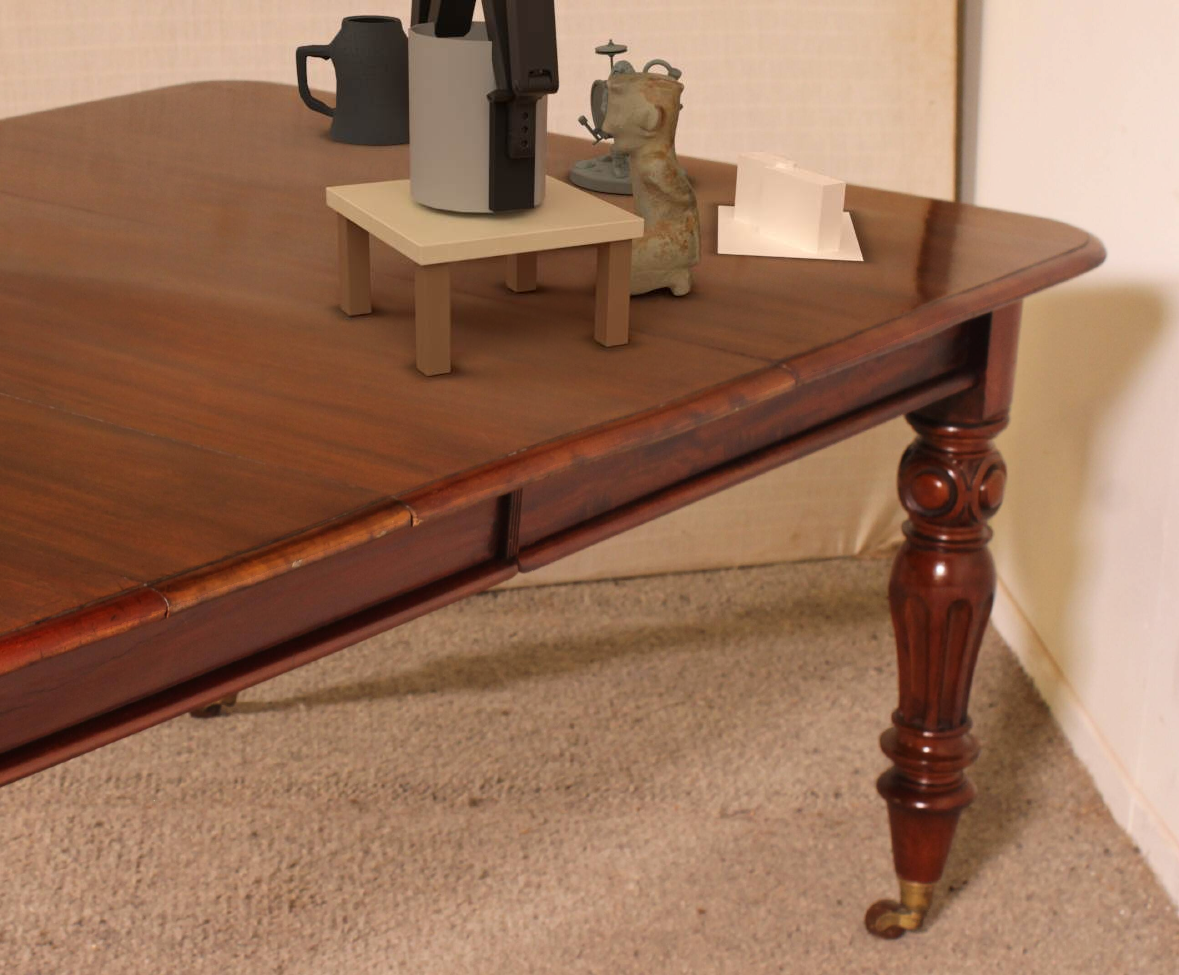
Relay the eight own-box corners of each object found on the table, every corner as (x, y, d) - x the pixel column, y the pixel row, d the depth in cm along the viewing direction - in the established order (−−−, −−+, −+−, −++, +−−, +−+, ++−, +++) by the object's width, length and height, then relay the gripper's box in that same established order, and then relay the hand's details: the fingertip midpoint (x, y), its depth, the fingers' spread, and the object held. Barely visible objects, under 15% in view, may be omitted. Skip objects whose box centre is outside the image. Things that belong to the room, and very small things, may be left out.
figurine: (592, 197, 129) (596, 55, 124) (554, 169, 138) (557, 36, 133) (704, 191, 132) (713, 52, 127) (660, 164, 142) (667, 34, 137)
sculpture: (592, 278, 108) (599, 65, 101) (691, 279, 108) (704, 67, 102) (599, 303, 102) (607, 80, 96) (703, 304, 103) (718, 82, 97)
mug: (420, 126, 154) (418, 13, 150) (421, 145, 146) (419, 26, 141) (303, 125, 153) (297, 11, 148) (296, 144, 145) (290, 24, 140)
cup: (384, 191, 94) (381, 26, 90) (486, 174, 99) (487, 17, 95) (468, 219, 88) (469, 45, 84) (571, 200, 93) (577, 35, 89)
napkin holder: (866, 261, 114) (874, 187, 112) (717, 254, 115) (722, 180, 112) (848, 211, 128) (855, 144, 125) (715, 205, 128) (720, 138, 126)
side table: (422, 381, 88) (420, 245, 85) (330, 308, 100) (325, 186, 96) (638, 345, 95) (644, 218, 92) (529, 281, 107) (530, 166, 103)
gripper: (634, -201, 78) (616, 227, 87) (460, -208, 94) (461, 153, 104) (506, -206, 74) (501, 240, 84) (348, -212, 90) (359, 161, 100)
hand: (479, 191), depth 94 cm, fingers closed on cup, 8 cm apart
